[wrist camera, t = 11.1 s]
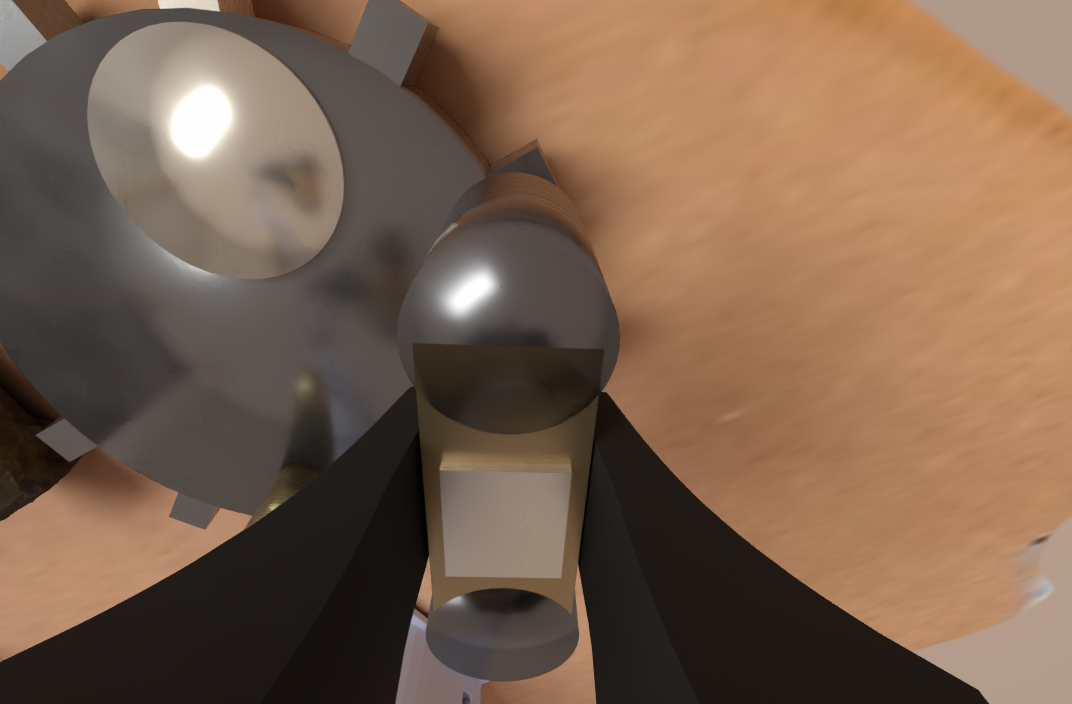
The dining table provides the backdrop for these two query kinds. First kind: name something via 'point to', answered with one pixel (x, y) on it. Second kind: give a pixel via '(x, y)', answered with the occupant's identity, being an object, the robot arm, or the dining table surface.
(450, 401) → the cartridge fuse
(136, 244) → the sprocket
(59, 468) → the dark brown rough bar
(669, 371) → the dining table surface
